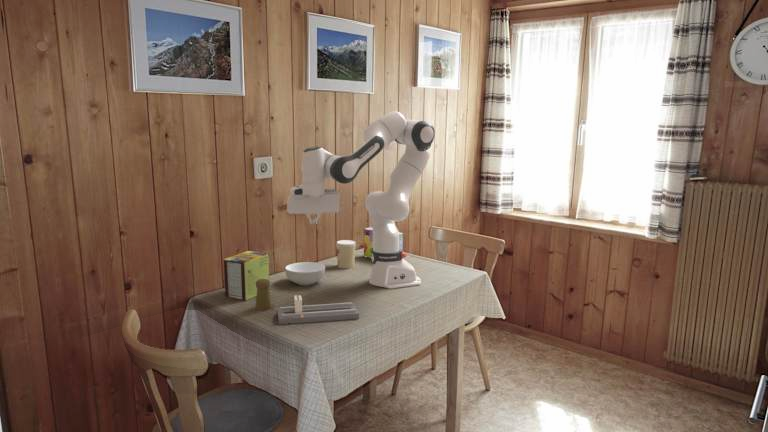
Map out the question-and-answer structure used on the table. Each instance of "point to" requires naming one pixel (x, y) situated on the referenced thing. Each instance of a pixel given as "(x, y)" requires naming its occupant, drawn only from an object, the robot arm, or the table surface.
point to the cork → (263, 295)
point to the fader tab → (298, 304)
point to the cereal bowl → (305, 272)
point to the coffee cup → (345, 253)
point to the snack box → (369, 241)
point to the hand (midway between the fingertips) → (313, 224)
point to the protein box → (245, 274)
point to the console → (318, 313)
